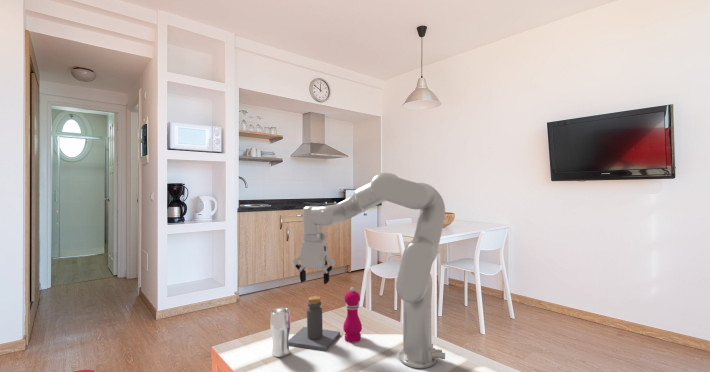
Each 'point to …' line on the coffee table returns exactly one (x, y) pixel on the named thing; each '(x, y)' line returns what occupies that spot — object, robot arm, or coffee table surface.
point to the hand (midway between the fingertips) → (314, 282)
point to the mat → (320, 344)
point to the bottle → (314, 318)
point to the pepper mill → (352, 317)
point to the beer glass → (280, 331)
